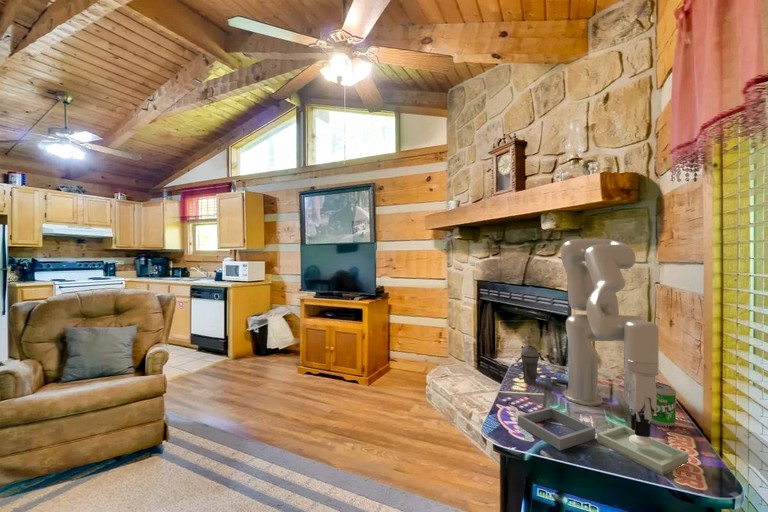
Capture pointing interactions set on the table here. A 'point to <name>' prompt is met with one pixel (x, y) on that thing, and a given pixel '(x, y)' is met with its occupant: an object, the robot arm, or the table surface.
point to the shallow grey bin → (563, 442)
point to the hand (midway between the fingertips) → (640, 432)
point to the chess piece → (640, 440)
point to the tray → (643, 450)
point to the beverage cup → (529, 363)
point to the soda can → (664, 406)
